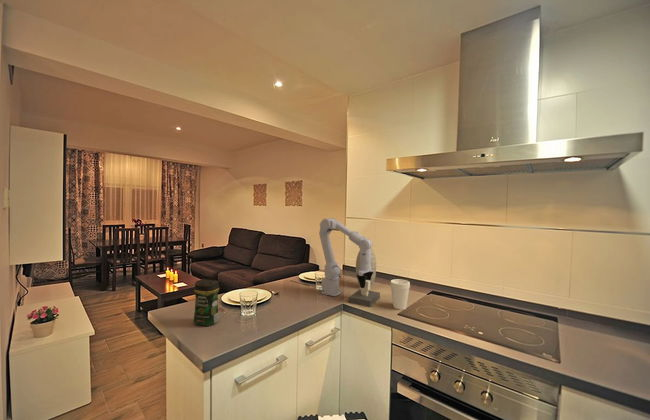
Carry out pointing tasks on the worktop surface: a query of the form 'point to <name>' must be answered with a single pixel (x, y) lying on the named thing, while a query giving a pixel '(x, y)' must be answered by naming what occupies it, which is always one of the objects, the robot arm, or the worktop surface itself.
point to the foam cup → (400, 293)
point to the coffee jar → (206, 302)
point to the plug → (365, 290)
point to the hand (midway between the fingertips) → (365, 286)
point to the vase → (373, 265)
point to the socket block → (364, 298)
